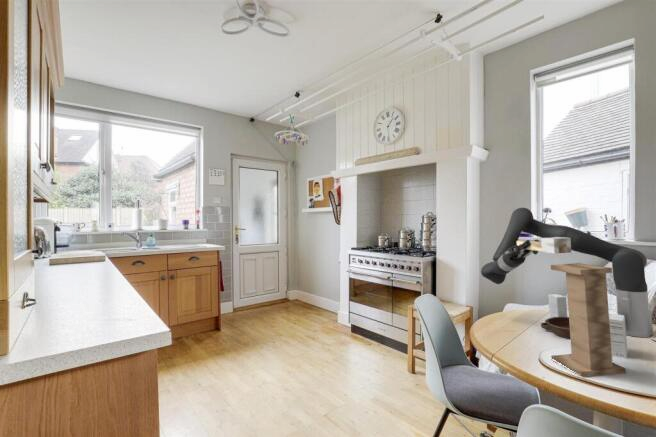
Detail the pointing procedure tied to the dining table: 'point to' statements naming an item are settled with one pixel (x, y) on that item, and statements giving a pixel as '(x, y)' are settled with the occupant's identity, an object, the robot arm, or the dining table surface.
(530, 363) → the dining table surface
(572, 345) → the wooden i-beam column
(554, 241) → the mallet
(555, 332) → the dish
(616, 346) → the supplement box
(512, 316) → the dining table surface
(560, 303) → the skincare box
